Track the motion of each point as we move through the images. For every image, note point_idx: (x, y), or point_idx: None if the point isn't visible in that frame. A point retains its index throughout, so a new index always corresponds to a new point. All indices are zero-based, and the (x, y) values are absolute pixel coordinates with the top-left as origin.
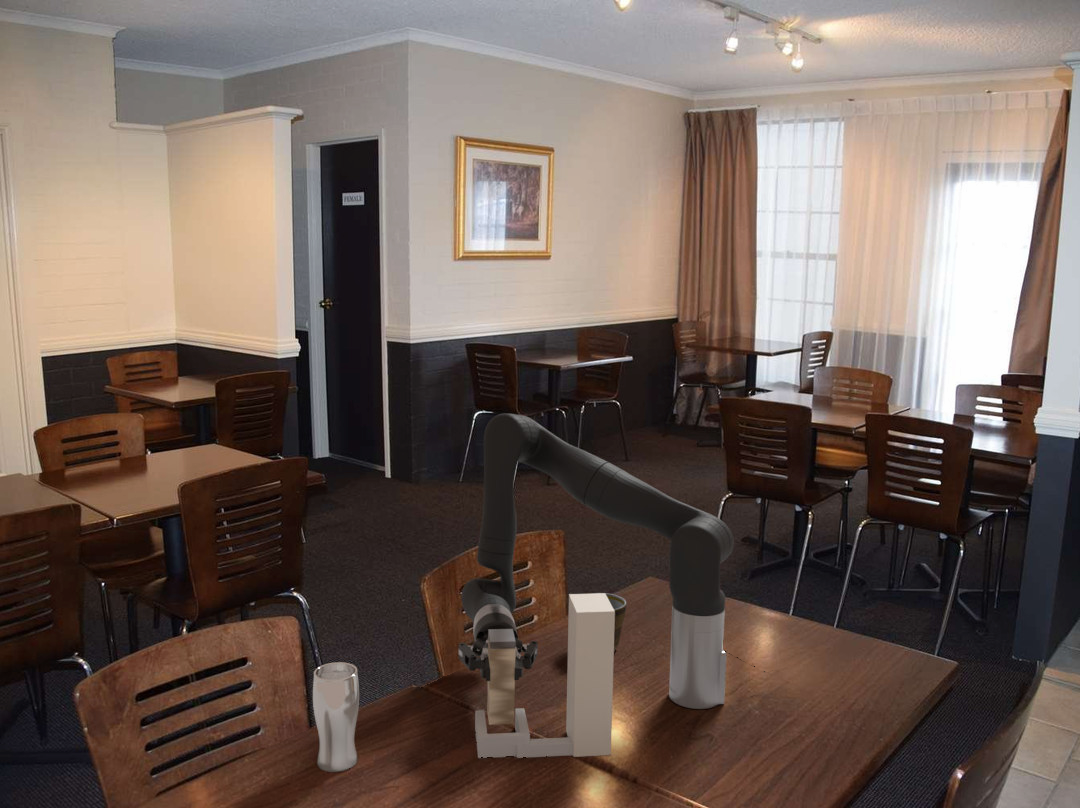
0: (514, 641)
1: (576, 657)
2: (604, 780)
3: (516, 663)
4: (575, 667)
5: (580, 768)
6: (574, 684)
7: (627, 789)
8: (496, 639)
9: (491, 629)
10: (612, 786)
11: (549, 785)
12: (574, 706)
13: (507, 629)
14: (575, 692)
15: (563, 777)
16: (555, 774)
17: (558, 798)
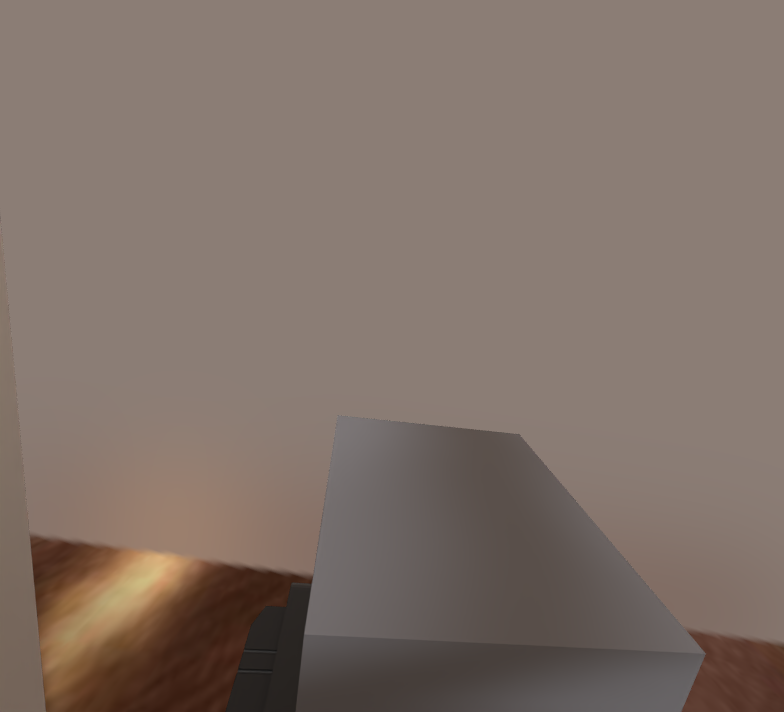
0: (345, 416)
1: (10, 376)
2: (78, 616)
3: (293, 637)
4: (18, 432)
5: (94, 690)
6: (8, 538)
7: (56, 573)
8: (486, 450)
9: (655, 650)
10: (82, 589)
11: (240, 616)
12: (29, 619)
13: (397, 616)
14: (27, 550)
15: (182, 646)
16: (197, 665)
17: (242, 568)
